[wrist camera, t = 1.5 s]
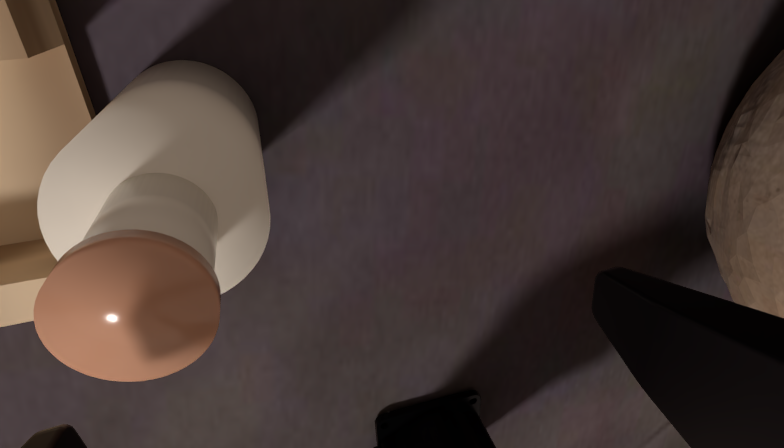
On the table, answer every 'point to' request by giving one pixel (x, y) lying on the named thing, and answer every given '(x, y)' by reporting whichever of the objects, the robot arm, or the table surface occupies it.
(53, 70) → the cradle
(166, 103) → the bottle
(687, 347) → the robot arm
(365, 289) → the table surface
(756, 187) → the ceramic bowl
